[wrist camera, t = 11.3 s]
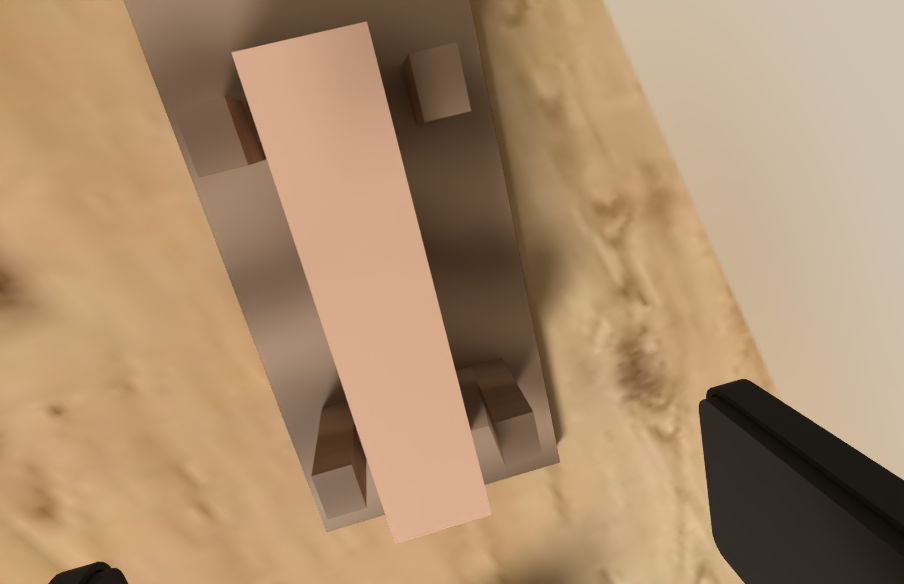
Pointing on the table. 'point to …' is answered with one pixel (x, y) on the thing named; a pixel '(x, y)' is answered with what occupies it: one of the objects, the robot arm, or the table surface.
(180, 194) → the table surface
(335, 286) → the pink rectangular block
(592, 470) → the table surface
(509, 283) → the rack
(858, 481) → the robot arm
